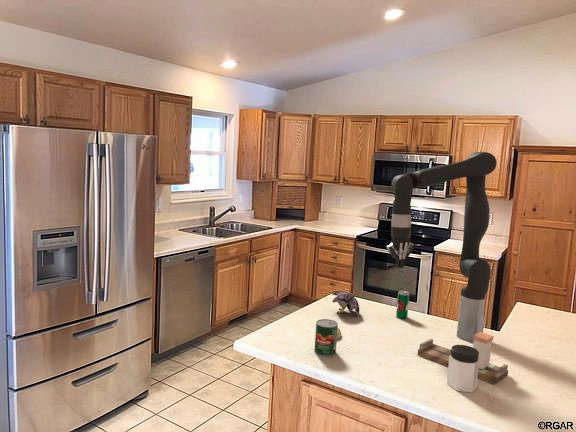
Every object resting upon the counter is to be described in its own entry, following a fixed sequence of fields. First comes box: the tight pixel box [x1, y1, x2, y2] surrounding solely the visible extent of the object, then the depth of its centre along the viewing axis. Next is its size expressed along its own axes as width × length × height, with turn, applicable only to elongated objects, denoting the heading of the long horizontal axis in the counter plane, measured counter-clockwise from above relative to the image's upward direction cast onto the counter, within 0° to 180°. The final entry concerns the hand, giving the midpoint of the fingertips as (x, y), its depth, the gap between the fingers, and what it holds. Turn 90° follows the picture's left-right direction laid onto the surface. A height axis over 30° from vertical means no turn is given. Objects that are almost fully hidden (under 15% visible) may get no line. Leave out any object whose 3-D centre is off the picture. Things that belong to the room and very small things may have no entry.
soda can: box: [395, 290, 410, 320], centre depth 203 cm, size 5×5×12 cm
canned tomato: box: [313, 318, 339, 358], centre depth 161 cm, size 8×8×11 cm
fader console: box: [417, 338, 509, 386], centre depth 156 cm, size 28×10×4 cm, turn 44°
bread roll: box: [337, 327, 342, 340], centre depth 177 cm, size 8×9×4 cm
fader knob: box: [472, 332, 494, 369], centre depth 151 cm, size 5×6×10 cm
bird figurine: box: [331, 290, 360, 317], centre depth 204 cm, size 14×12×15 cm
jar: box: [446, 344, 479, 394], centre depth 141 cm, size 9×8×12 cm
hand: (400, 267), depth 180 cm, fingers closed
